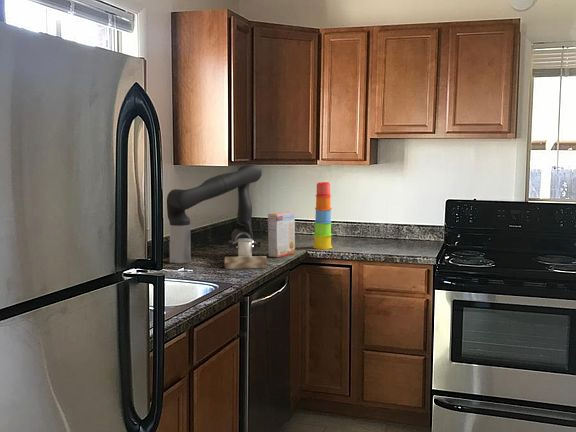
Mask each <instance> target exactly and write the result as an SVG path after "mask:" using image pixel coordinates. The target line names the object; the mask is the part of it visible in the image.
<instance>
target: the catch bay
mask: <svg viewBox="0 0 576 432" xmlns="http://www.w3.org/2000/svg"><path fill="white" fill-rule="evenodd" d="M267 259H268V258H267V255H266V256H265V255H264V256H263V255H258V256H253V255H252V256H251V257H238V256H224V269H225V270H226V269H227V270H230V269H231V270H232V269H233V270H234V269H240V270H241V269H267V268H268V267H267V265H268V264H267V262H268V261H267Z"/></svg>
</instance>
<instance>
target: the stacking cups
mask: <svg viewBox="0 0 576 432" xmlns="http://www.w3.org/2000/svg"><path fill="white" fill-rule="evenodd" d="M331 197H332V195H331V184H330V182H329V181H328V182H325V181H323V182H321V181H320V182H317V184H316V194H315V207H314V209H315V220H314V233H313V235H314V241H313V246H312V248H313V249H316V250H317V249H318V250H330V248H331V249H333V246H332V236H333V233H332V222H333V221H332V218H331V216H332V213H331V212H332V207H331Z"/></svg>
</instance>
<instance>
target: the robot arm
mask: <svg viewBox="0 0 576 432" xmlns="http://www.w3.org/2000/svg"><path fill="white" fill-rule="evenodd" d="M262 175H263V170H262V168H261V167H260V166H259V165H258V164H255V163H248V164H243V165H240V166H239V168H238V170H236V171H232V172H225V173H222V174H218V175H215V176H212V177H210V178H208V179H206V180H204V181H203V183H201V184H199V185H198V186H195V187H193V188H189V189H181V188H180V189H179V188H175V189H171V190H170V191H169V192H168V194H167V197H166V212H167V219H168V220H169V222H168V223H169V245H168V246H169V263H170V264H188V263H191V262H192V261H191V260H192V259H191V258H192V256H191V219H190V217H188V215H187V214H186V210H188V209H191V208H193V207H195V206H196V205H198V204H200V203H202V202H204V201H208V200H212V199H214V198H217V197H219V196H221V195H224V194H226V193H229V192H231V191H233V190H235V189H237V196H238V197H237V198H238V200H237V201H238V202H237V203H238V205H237V215H236V223H237V224H239V225H242V226H244V227H245V228H246V229H242V228H241V229H239V228H235V229H234V230H233V231H232V232H231V235H230V236H231V237H230V238H231V240H229V241H228V249H234V250H236V249H238V239H240V238H250V239H252V249H257V248H259V249H260V248H261V246H262V245H261V240H259V239H257V240H255V241H254V233H253V228H252V227H253V226H252V216H253V215H252V214H253V206H252V201H251V198H250V193H249V191H250V189H249V188H250V184H252V183H256V182H258V181H260V179H261V178H262Z"/></svg>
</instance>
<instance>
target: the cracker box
mask: <svg viewBox="0 0 576 432" xmlns="http://www.w3.org/2000/svg"><path fill="white" fill-rule="evenodd" d="M295 218H296V216H295V212H294V211H292V212H291V211H283V212H274V213H268V214H267V234H268V239H267V240H268V241H267V242H268V244H267V245H268V257H269V258H281V257H286V256H291V255H295V254H296V243H295V242H296V239H295V238H296V235H295V234H296V227H295V225H296V224H295V223H296V222H295V221H296V220H295Z"/></svg>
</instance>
